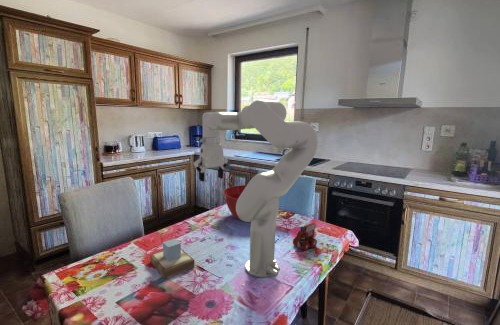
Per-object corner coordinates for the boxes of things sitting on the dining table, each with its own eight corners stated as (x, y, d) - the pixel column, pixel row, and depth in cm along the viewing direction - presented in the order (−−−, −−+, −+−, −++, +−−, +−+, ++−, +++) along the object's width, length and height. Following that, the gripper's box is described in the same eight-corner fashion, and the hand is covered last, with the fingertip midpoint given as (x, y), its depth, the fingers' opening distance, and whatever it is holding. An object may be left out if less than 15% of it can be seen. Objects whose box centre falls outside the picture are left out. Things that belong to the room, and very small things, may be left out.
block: (180, 257, 103) (180, 243, 102) (168, 261, 100) (168, 247, 99) (175, 252, 107) (174, 238, 106) (163, 256, 103) (162, 242, 102)
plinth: (194, 266, 103) (194, 259, 102) (164, 278, 95) (164, 270, 94) (178, 252, 113) (178, 245, 112) (150, 261, 105) (150, 254, 105)
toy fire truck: (289, 247, 120) (290, 225, 118) (307, 239, 128) (308, 219, 126) (301, 253, 115) (302, 231, 113) (318, 245, 122) (320, 224, 121)
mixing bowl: (267, 228, 139) (268, 200, 136) (216, 223, 145) (216, 196, 142) (273, 210, 166) (274, 187, 164) (230, 206, 172) (230, 183, 169)
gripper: (198, 143, 106) (198, 184, 109) (232, 141, 117) (232, 178, 120) (189, 141, 112) (189, 180, 114) (222, 139, 123) (222, 175, 126)
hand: (211, 179), depth 117 cm, fingers open, 9 cm apart
